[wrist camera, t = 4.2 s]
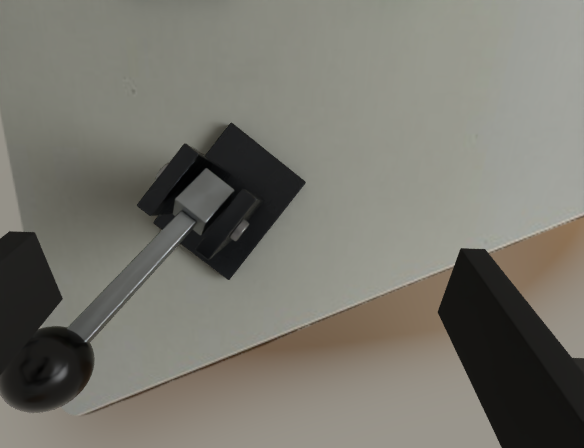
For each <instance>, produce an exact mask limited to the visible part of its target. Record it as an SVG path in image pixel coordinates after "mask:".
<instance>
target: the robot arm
mask: <svg viewBox="0 0 584 448" xmlns="http://www.w3.org/2000/svg"><path fill="white" fill-rule="evenodd" d="M62 299H63V298H62V296H61V294H60V291H59V289H58V286H57V284H56V282H55V279H54V277H53V274H52V272H51V270H50V267H49V265H48V263H47V260H46V258H45V255H44V253H43V251H42V248H41V246H40V243H39V241H38V239H37V236H36V234H35V232H8V233H7V234H6V235H4V236H3V237H2V238H1V239H0V375H1V374H2V373H3V372H4V370H5V369H6V368H7V367H8V365H9V364H10V363H11V362H12V361H13V359H14V358H15V357H16V356H17V354H18V353H19V352H20V351H21V350H22V348H23V347H24V346H25V345H26V343H27V342H28V341H29V340H30V338H31V337H32V336H33V335H34V334H35V332H36V331H37V330H38V329H39V327H40V326H41V325H42V324H43V322H44V321H45V320H46V319H47V318H48V316H49V315H50V314H51V313H52V311H53V310H54V309H55V308H56V307H57V305H58V304H59V303H60V302H61V300H62ZM438 314H439V316H440V318H441V320H442V322H443V324H444V327H445V329H446V330H447V333H448V335H449V337H450V339H451V341H452V343H453V345H454V348H455V350H456V352H457V354H458V356H459V358H460V360H461V362H462V365H463V366H464V369H465V371H466V373H467V375H468V377H469V379H470V381H471V384H472V386H473V388H474V390H475V392H476V394H477V396H478V398H479V400H480V403H481V405H482V407H483V408H484V411H485V413H486V415H487V417H488V419H489V422H490V424H491V426H492V428H493V430H494V432H495V434H496V436H497V439H498V441H499V443H500V445H501V447H502V448H584V358H572V357H571V356H570V355H569V354H568V352H567V351H566V350H565V349H564V347H563V346H562V345H561V344H560V342H559V341H558V340H557V339H556V338H555V336H554V335H553V334H552V332H551V331H550V330H549V329H548V327H547V326H546V325H545V324H544V322H543V321H542V320H541V319H540V317H539V316H538V315H537V314H536V313H535V311H534V310H533V309H532V307H531V306H530V305H529V304H528V302H527V301H526V300H525V299H524V297H523V296H522V295H521V294H520V293H519V291H518V290H517V289H516V287H515V286H514V285H513V284H512V282H511V281H510V280H509V279H508V277H507V276H506V275H505V274H504V272H503V271H502V270H501V269H500V267H499V266H498V265H497V264H496V262H495V261H494V260H493V259H492V257H491V256H490V255H489V253H488V252H487V251H486V250H485V249H464V248H461V249H460V252H459V254H458V257H457V260H456V263H455V265H454V268H453V271H452V274H451V276H450V279H449V282H448V285H447V288H446V290H445V293H444V296H443V299H442V301H441V305H440V307H439V310H438Z"/></svg>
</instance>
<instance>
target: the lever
mask: <svg viewBox="0 0 584 448" xmlns="http://www.w3.org/2000/svg"><path fill="white" fill-rule="evenodd" d="M234 191H235V190H234V189H233V188H232V187H230V186H229V185H228V184H226V183H225V182H224V181H223V180H221V179H220V178H219V177H218V176H216V175H215V174H214V173H212V172H211V171H210V170H209V169H207V168H205V169H204V170H203V171H202V172H201V173H200V174H199V175H198V176H197V177H196V178H195V179H194V180H193V181H192V182H191V183H190V184H189V185H188V186H187V187H186V188H185V189H184V190H183V191H182V192H181V193H180V194H179V195H178V196H177V197H176V198H175V201H174V209H173V215H174V216H175V217H174V218H173V219H172V220H171V221H170V222H169V223H168V224H167V225H166V226H165V227H164V228H163V229H162V230H161V231H160V233H159V234H158V235H157V236H156V237H155V238H154V239H153V240H152V241H151V242H150V243H149V244H148V245H147V246H146V247H145V248H144V249H143V250H142V251H141V252H140V253H139V254H138V255H137V256H136V257H135V258H134V259H133V260H132V261H131V263H130V264H129V265H128V266H127V267H126V268H125V269H124V270H123V271H122V272H121V273H120V274H119V275H118V276H117V277H116V278H115V279H114V280H113V281H112V282H111V283H110V284H109V285H108V286H107V287H106V288H105V289H104V290H103V292H102V293H101V294H100V295H99V296H98V297H97V298H96V299H95V300H94V301H93V302H92V303H91V304H90V305H89V306H88V307H87V308H86V309H85V310H84V311H83V312H82V313H81V314H80V315H79V316H78V317H77V318H76V319H75V320H74V322H73V323H72V324H71V325H70V326H69V327H61V326H52V327H45V328H41V329H38V330H37V331H36V332H35V334H34V335H33V336H32V337H31V338H30V340H29V341H28V342H27V343H26V345H25V346H24V347H23V348H22V350H21V351H20V352H19V353H18V354H17V356H16V357H15V358H14V359H13V361H12V362H11V363H10V364H9V365H8V367H7V368H6V369H5V370H4V372H3V373H2V374H1V375H0V395H1V396H2V398H3V399H4V401H5V402H6V403H7V404H9V405H10V406H11V407H13V408H15V409H17V410H20V411H24V412H29V413H40V412H46V411H50V410H54V409H56V408H59V407H61V406H63V405H65V404H67V403H68V402H69V401H71V400H72V399H74V398H75V397H76V396H77V395H78V394H79V393H80V392H81V391H82V390H83V389H84V387H85V386H86V384H87V383H88V381H89V379H90V377H91V375H92V372H93V368H94V352H93V348H92V346H91V344H90V342H91V341H92V340H93V339H94V337H95V336H96V335H97V334H98V333H99V332H100V331H101V330H102V329H103V328H104V326H105V325H106V324H107V323H108V322H109V321H110V320H111V319H112V318H113V317H114V315H115V314H116V313H117V312H118V311H119V310H120V309H121V308H122V307H123V306H124V304H125V303H126V302H127V301H128V300H129V299H130V298H131V297H132V296H133V295H134V293H135V292H136V291H137V290H138V289H139V288H140V287H141V286H142V285H143V284H144V282H145V281H146V280H147V279H148V278H149V277H150V276H151V275H152V274H153V273H154V271H155V270H156V269H157V268H158V267H159V266H160V265H161V264H162V263H163V262H164V260H165V259H166V258H167V257H168V256H169V255H170V254H171V253H172V252H173V250H174V249H175V248H176V247H177V246H178V245H179V244H180V243H181V242H182V241H183V239H184V238H185V237H186V236H187V235H188V234H189V233H190V232H191V231H192V230H194V231H195V232H197V233H198V234H199V235H202V234H203V233H204V232H205V231H206V230H207V229H208V228H209V226H210V225H211V224H212V223H213V222H214V221H215V220H216V218H217V217H218V216H219V215H220V214H221V213H222V212H223V210H224V209H225V208H226V207H227V206H228V204H229V202H230V200H231V198H232V196H233V194H234Z"/></svg>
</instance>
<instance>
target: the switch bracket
mask: <svg viewBox="0 0 584 448" xmlns="http://www.w3.org/2000/svg"><path fill="white" fill-rule="evenodd" d="M205 168H207V169H209V170H210V171H211V172H212V173H214V174H215V175H216V176H218V177H219V178H220V179H221V180H223V181H224V182H225V183H226V184H228V185H229V186H230V187H232V188H233V189H234V190H235V191H234V194H233V196H232V198H231V200H230V202H229V204H228V206H227V207H226V208H225V209H224V210H223V212H222V213H221V214H220V215H219V216H218V217H217V218H216V220H215V221H214V222H213V223H212V224H211V225H210V226H209V228H208V229H207V230H206V231H205V232H204V233H203V234H202V235H199V234H198V233H197V232H195V231H194V230H192V231H191V232H190V233H189V234H188V235H187V236H186V237H185V238H184V239H183V241H182V242H181V243H180V244H182V245H183V246H184V247H186V248H187V249H188V250H190V251H191V252H192V253H194V254H195V255H196V256H198V257H199V258H200V259H201V260H203V261H204V262H205V263H207V264H208V265H209V266H211V267H212V268H213V269H215V270H216V271H217V272H219V273H220V274H221V275H223V276H224V277H225V278H227V279H228V280H230V278H231V277H232V276H233V274H234V273H235V272H236V271H237V269H238V268H239V267H240V266H241V264H242V263H243V262H244V260H245V259H246V258H247V257H248V255H249V254H250V253H251V252H252V250H253V249H254V248H255V247H256V245H257V244H258V243H259V241H260V240H261V239H262V238H263V236H264V235H265V234H266V233H267V231H268V230H269V229H270V227H271V226H272V225H273V224H274V222H275V221H276V220H277V219H278V217H279V216H280V215H281V214H282V212H283V211H284V210H285V208H286V207H287V206H288V205H289V203H290V202H291V201H292V200H293V198H294V197H295V196H296V194H297V193H298V192H299V191H300V189H301V188H302V187H303V186H304V184H305V183H306V182H305V181H304V180H303V179H301V178H300V177H299V176H298V175H296V174H295V173H294V172H293V171H291V170H290V169H289V168H288V167H286V166H285V165H284V164H283V163H281V162H280V161H279V160H278V159H276V158H275V157H274V156H273V155H271V154H270V153H269V152H268V151H266V150H265V149H264V148H263V147H262V146H260V145H259V144H258V143H257V142H255V141H254V140H253V139H252V138H250V137H249V136H248V135H247V134H245V133H244V132H243V131H242V130H240V129H239V128H238V127H237V126H235V125H234V124H233V123H230V124H229V126H228V127H227V128H226V129H225V131H224V132H223V133H222V135H221V136H220V137H219V138H218V140H217V141H216V142H215V144H214V145H213V146H212V147H211V149H210V150H209V151H208V153H207V154H206V155H205V156H204V155H203V154H201V153H200V152H198V151H197V150H195V149H194V148H192V147H190V146H189V145H187V144H184V145H183V146H182V147H181V148H180V150H179V151H178V152H177V154H176V155H175V156H174V157H173V159H172V160H171V161H170V162H169V163H167V164H166V165H164V166H163V167H162V168H161V169H160V171H159V172H158V174H157V176H156V181H155V182H154V183H153V185H152V186H151V187H150V188H149V190H148V191H147V192H146V194H145V195H144V196H143V197H142V199H141V200H140V201H139V203H138V204H137V206H138V207H139V208H140V209H141V210H143V211H144V212H145V213H147V214H148V215H149V216H156V215H159V216H158V217H157V218H156V219H155V221H154V222H153V223H154V224H155V225H157V226H158V227H159V228H161V229H163V228H164V227H165V226H166V225H167V224H168V223H169V222H170V221H171V220H172V219H173V218H174V217H175V216H174V215H173V209H174V201H175V198H176V197H177V196H178V195H179V194H180V193H181V192H182V191H183V190H184V189H185V188H186V187H187V186H188V185H189V184H190V183H191V182H192V181H193V180H194V179H195V178H196V177H197V176H198V175H199V174H200V173H201V172H202V171H203V170H204V169H205Z"/></svg>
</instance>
